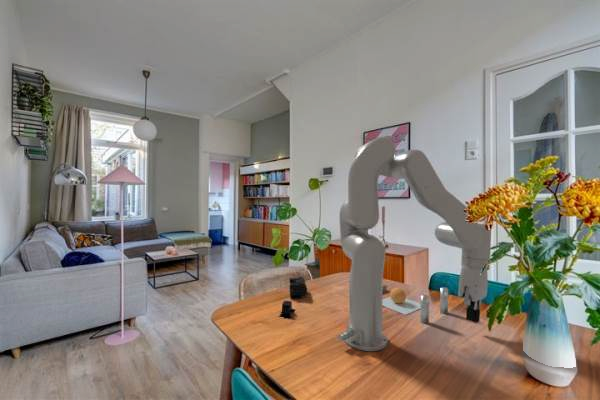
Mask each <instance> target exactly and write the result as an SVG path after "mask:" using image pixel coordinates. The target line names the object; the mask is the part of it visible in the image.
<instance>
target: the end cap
mask: <svg viewBox="0 0 600 400" xmlns="http://www.w3.org/2000/svg"><path fill="white" fill-rule="evenodd" d="M306 294H308V287H307V284H306V280H305V279H304V277H303V276H298V278H297V277H296V278H295V277H294V278H293V277H292V278H289V299H291V300H294V299H295V300H297V299H298V300H300V299H302V298H304V297H305V296H306Z"/></svg>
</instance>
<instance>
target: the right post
mask: <svg viewBox="0 0 600 400" xmlns="http://www.w3.org/2000/svg"><path fill="white" fill-rule="evenodd" d="M439 289H440V290H439V291H440V293H439V294H440V295H439V296H440V297H439V302H440V303H439V312H441V313H440V314H442V313H443V314H442V315H448V314H449V288H448V287H445V286H442V287H440V288H439Z"/></svg>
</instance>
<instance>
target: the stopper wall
mask: <svg viewBox="0 0 600 400" xmlns="http://www.w3.org/2000/svg"><path fill="white" fill-rule="evenodd" d="M387 287H388V286H387V284H385V283H382V293H384V292H386V291H387V290H388V289H387Z"/></svg>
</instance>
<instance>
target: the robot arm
mask: <svg viewBox="0 0 600 400" xmlns="http://www.w3.org/2000/svg"><path fill="white" fill-rule="evenodd" d="M380 176H384V177H386V178H387V177H388V178H390V179H391V178H392V179H396V180H398V179H399V180H401V179H402V180H403V179H404V181H405V182H406V184H407V185H408V187H409V189H410V191H411V192H412V194H413V195H414V197H415V199H416V201H417V202H418V203H419V204H420V205H421V206H422V207H424V208H426V209H427V210H429V211H431V212H432V213H435V214H436V215H438V216H439V217H441V218H442V219H443V220H444V222H441V223H439V224H437V225H436V227H435V229H434V236H435V238H436V240H437V241H438V242H440V243H441V244H444V245H446V246H450V247H453V248H454V247H455V248H458V249H461V259H460V260H461V261H460V262H461V263H460V264H461V269H460V274H459V282H458V292H457V295H458V298H460V299H462V298H463V299H464V300H463V305H465V306H466V311H465V312H466V315H465V316H466V317H465V319H466V320H467V321H470V322H473V323H474V324H478V322H480V321H481V320H480V318H481V317H480V315H481V306H482V305H481V304H482V300H483V299H485V298H486V297H487V295H488V286H489V285H488V284H489V282H488V281H489V280H488V279H489V277H488V275H489V274H488V271H490V267H491V264H490V265H488V266H487V268H486V269H485V271H484V272H483V273H482V274H481V275H480V273H481V270H482V268H483V266H484V264H485V263H486V262H487V261H488V260H489V259H490V260H491V245H492V244H491V243H492V229H491V230H490V231H488V232H487V231H486V229H485V223H479V222H478V221H477V222H476V223H471V224H470V223H467V222H465V221H464V220H465V218H466V217H467V214H466V213H464V212H463V210H464V209H466V208H468V207H467V206H466V205H465V204H464V203H463V202H461V201H460V200H459V199H458V198H457V197H456V196H455V195H453V194H452V193H451V192H449V191H448V190H447V188H445V186H444V184H443V182H442V181H441V179H440V177H439V176H438V174H437V172H436V170H435V169H434V167H433V166H432V163H431V162H430V160H429V158H428V157H427V155H426V154H425V153H424V152H423V151H422V150H419V149H409V150H405V151H402V152H400V153H399V152H396V145H395V143H394V141H393V140H392V139H391V138H390V137H387V136H379V137H377V138H374V139H372V140H370V141H367V143H364V144H363V145H361V146H359V148H358V149H357V150H356V152H355V155H354V160H353V162H352V164H351V166H350V168H349V171H348V180H347V183H348V184H347V186H348V187H347V189H348V190H347V192H348V195H347V196H348V198H347V199H346V200H345V201H344V202H343V203H342V204H341V207H340V210H339V231H340V233H339V234H340V244H341V249H342V252H343V253H344V254H345V257H348V258H349V259H350V260H351V266H350V271H349V321H348V322H349V324H348V325H346V330H345V331H344V332H342V333H339V334H338V335H337V339H338V341H339V342H344V341H345V343H346V344H348V345H349V346H350V347H352V348H354V349H357V350H358V351H359V350H360V351H365V352H376V351H378V352H379V351H381V350H383V349H384V348H386V347H387V346H388V337H387V335H386V334H385V333H384V332H383V306H382V299H383V292H382V284H383V277H384V276H383V275H384V268H385V267H384V266H385V263H386V249H385V246H384V244H383V242H382V241H381V240H380V239H379V238H378V237H377V236H374V235H373V234H369V230H372V229H373V228H375V227H376V226H377V224H378V223H379V219H380V209H379V208H380V207H379V192H378V187H379V185H378V183H379V177H380Z"/></svg>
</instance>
